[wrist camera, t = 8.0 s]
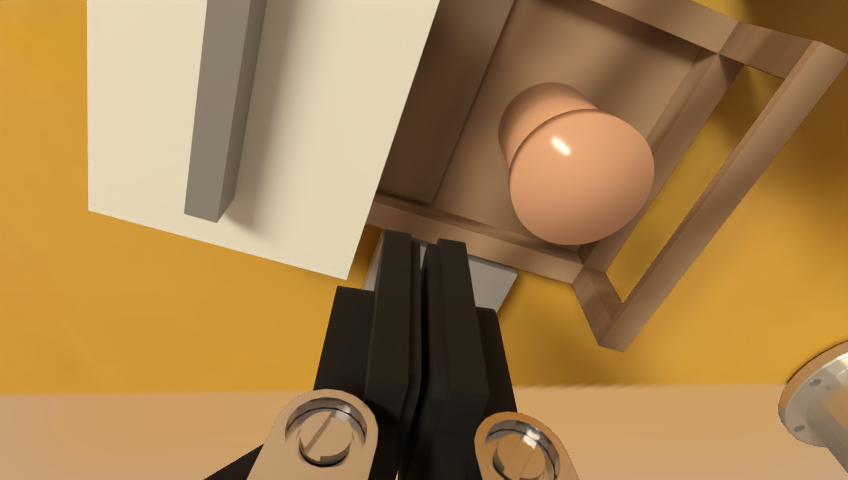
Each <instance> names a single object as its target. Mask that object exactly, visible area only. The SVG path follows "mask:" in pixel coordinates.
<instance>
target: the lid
mask: <svg viewBox="0 0 848 480" xmlns="http://www.w3.org/2000/svg"><path fill="white" fill-rule="evenodd" d="M439 1H440V0H87V72H88V210H89V211H93V212H97V213H100V214H104V215H108V216H111V217H115V218H119V219H122V220H126V221H130V222H133V223H137V224H141V225H145V226H148V227H152V228H156V229H159V230H163V231H167V232H170V233H174V234H178V235H181V236H185V237H189V238H193V239H196V240H200V241H204V242H207V243H211V244H215V245H218V246H222V247H226V248H229V249H233V250H237V251H241V252H244V253H248V254H252V255H255V256H259V257H263V258H266V259H270V260H274V261H277V262H281V263H285V264H289V265H292V266H296V267H300V268H303V269H307V270H311V271H314V272H318V273H322V274H325V275H329V276H333V277H337V278H340V279H344V280H346V279H347V276H348V273H349V270H350V267H351V264H352V261H353V258H354V255H355V252H356V249H357V246H358V243H359V240H360V237H361V234H362V231H363V228H364V225H365V222H366V219H367V216H368V213H369V210H370V207H371V204H372V201H373V198H374V195H375V192H376V189H377V186H378V183H379V180H380V177H381V174H382V172H383V169H384V166H385V163H386V160H387V157H388V154H389V151H390V148H391V145H392V142H393V139H394V136H395V133H396V130H397V127H398V124H399V121H400V118H401V115H402V112H403V109H404V106H405V103H406V100H407V97H408V94H409V91H410V88H411V85H412V82H413V79H414V76H415V73H416V70H417V67H418V64H419V61H420V58H421V55H422V52H423V49H424V46H425V43H426V40H427V37H428V34H429V31H430V28H431V25H432V22H433V19H434V16H435V13H436V10H437V7H438V4H439Z"/></svg>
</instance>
